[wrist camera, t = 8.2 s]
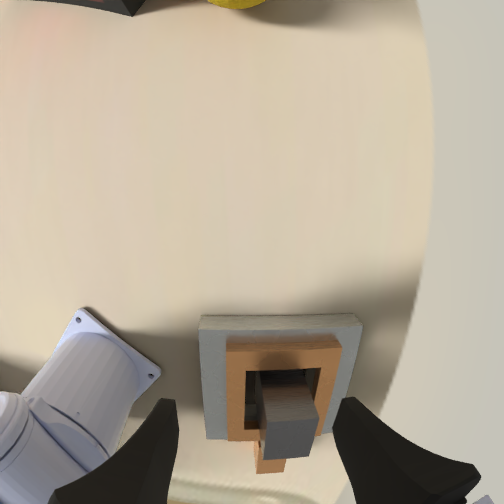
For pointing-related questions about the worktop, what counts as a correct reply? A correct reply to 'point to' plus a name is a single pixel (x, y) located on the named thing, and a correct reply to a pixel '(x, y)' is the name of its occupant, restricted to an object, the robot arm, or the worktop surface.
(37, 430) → the robot arm
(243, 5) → the lemon
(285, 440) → the dark grey rectangular block
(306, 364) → the grey and brown socket
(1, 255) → the worktop surface
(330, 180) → the worktop surface
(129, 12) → the cleaning product box
